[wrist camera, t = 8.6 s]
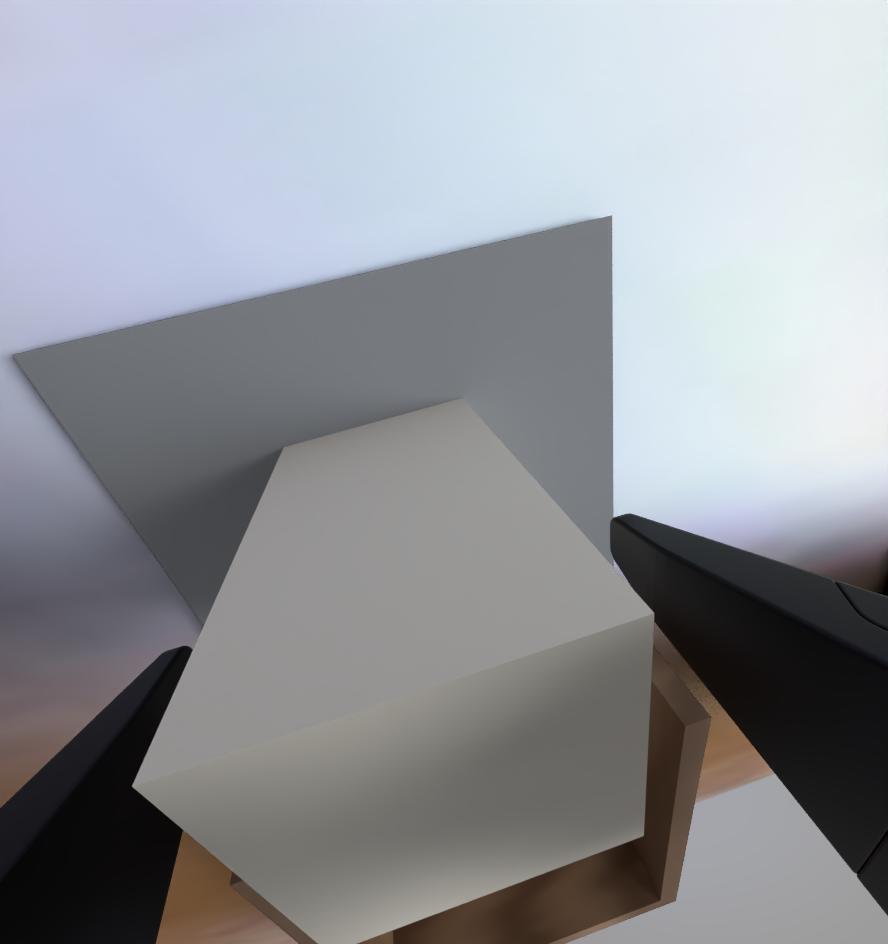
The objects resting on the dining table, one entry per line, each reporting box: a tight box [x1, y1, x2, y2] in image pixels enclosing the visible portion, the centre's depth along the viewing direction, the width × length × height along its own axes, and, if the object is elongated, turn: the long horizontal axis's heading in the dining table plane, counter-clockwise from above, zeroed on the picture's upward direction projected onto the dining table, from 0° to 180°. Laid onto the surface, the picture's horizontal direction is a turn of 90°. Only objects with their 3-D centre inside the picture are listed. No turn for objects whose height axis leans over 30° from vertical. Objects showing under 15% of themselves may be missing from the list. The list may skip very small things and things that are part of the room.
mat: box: [12, 216, 613, 626], centre depth 12 cm, size 14×12×1 cm
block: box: [132, 398, 654, 944], centre depth 8 cm, size 5×5×8 cm
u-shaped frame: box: [230, 646, 711, 944], centre depth 19 cm, size 17×18×4 cm
